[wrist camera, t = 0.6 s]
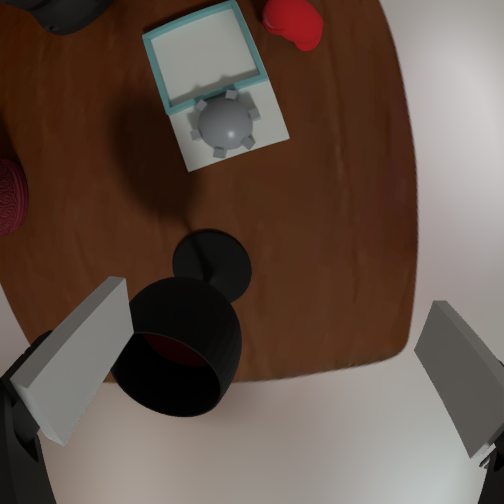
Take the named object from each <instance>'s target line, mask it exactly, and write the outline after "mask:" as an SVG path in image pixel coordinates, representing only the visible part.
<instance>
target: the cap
mask: <svg viewBox="0 0 504 504" xmlns="http://www.w3.org/2000/svg"><path fill="white" fill-rule="evenodd" d="M262 17H263V21H262V23H263V25H264V26H265V28H266V30H267V31H268V32H270V33H272V34H276V35H281V36H282V37H284V38H285V39H287V40H289V41H292V42H294V44H295V45H296V47H297V48H298V49H300V50H302V51H310V50H312V49H313V48H315V47H316V46H317V45H318V43H319V41H320V39H321V36H322V30H323V18H322V17H321V16H320V15H319V14H318V12H317V11H316V9H315V8H314V7H313V6H312V5H311V4H310V3H309V2H307V1H306V0H268V2H267V3H266V5H265V6H264V8H263V12H262Z"/></svg>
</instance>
